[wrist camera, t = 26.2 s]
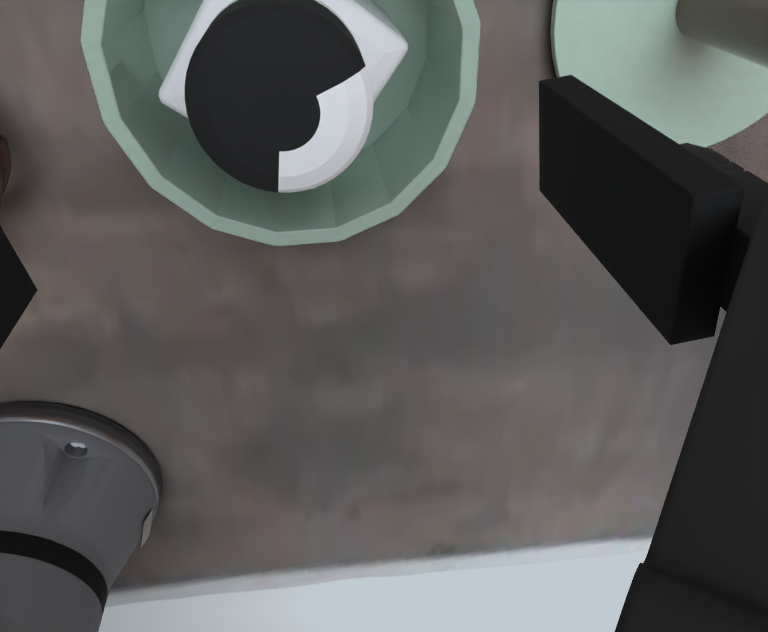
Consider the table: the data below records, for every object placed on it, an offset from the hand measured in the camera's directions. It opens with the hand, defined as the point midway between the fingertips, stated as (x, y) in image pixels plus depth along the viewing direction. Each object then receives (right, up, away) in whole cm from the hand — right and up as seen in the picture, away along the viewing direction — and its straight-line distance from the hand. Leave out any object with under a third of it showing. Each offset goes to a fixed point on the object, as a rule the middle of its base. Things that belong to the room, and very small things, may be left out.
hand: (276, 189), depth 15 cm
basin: (-2, +11, +15) cm, 18 cm away
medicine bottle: (-2, +10, +15) cm, 18 cm away
